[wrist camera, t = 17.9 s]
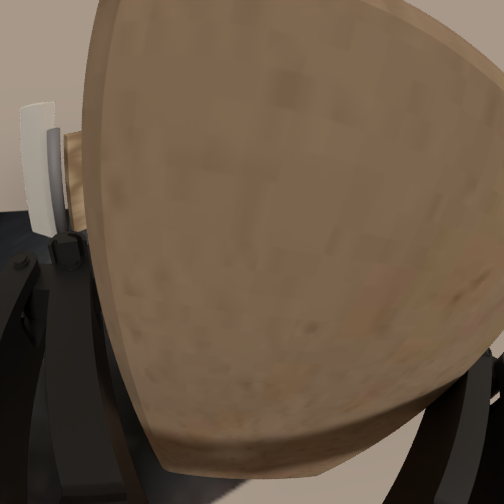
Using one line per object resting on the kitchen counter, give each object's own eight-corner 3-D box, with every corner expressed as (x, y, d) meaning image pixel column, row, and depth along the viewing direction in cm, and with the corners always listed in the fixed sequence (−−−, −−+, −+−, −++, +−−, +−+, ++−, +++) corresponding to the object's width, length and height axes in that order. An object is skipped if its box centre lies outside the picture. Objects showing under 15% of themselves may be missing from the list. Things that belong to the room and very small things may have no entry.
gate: (75, 233, 29) (67, 136, 23) (68, 224, 31) (61, 133, 24) (172, 199, 41) (179, 121, 34) (161, 193, 42) (167, 118, 36)
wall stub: (32, 231, 28) (19, 107, 19) (43, 222, 30) (34, 103, 21) (61, 240, 28) (51, 103, 19) (72, 230, 30) (66, 100, 21)
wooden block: (179, 348, 20) (209, 42, 9) (304, 360, 22) (414, 100, 11) (160, 471, 12) (100, -52, 1) (320, 476, 13) (588, 176, 2)
